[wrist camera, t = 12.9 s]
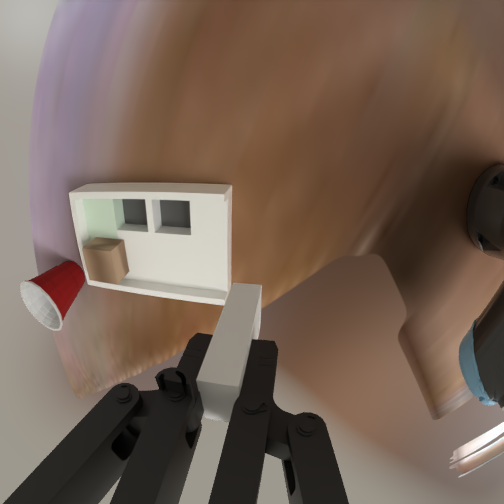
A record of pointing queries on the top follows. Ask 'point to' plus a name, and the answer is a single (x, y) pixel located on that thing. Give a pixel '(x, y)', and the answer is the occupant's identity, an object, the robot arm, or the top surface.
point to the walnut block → (106, 260)
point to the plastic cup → (53, 293)
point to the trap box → (162, 236)
